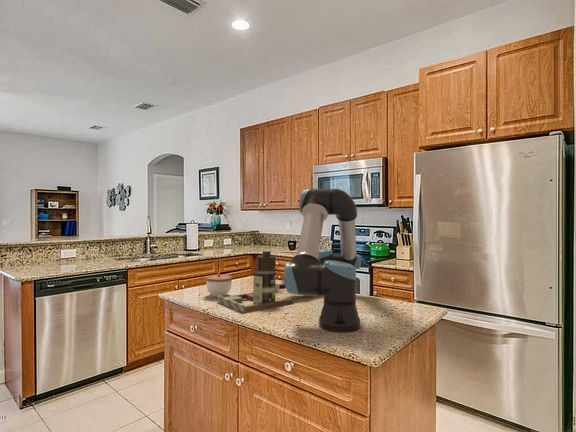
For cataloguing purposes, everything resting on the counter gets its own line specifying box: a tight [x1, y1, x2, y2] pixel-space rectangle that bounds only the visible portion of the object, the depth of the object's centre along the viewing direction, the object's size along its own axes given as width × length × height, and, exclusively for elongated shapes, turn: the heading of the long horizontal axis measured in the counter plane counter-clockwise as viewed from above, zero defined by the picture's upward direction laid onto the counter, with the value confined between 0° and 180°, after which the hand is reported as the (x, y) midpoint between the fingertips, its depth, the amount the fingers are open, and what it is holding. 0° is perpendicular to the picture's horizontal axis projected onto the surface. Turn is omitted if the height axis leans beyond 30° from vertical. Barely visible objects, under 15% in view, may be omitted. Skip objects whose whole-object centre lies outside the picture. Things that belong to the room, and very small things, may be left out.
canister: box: [256, 250, 276, 272], centre depth 198 cm, size 11×10×20 cm
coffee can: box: [252, 270, 277, 305], centre depth 165 cm, size 10×10×14 cm
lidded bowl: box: [205, 272, 233, 298], centre depth 180 cm, size 13×13×11 cm
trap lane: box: [217, 292, 294, 314], centre depth 165 cm, size 22×27×3 cm
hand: (273, 287), depth 169 cm, fingers closed
